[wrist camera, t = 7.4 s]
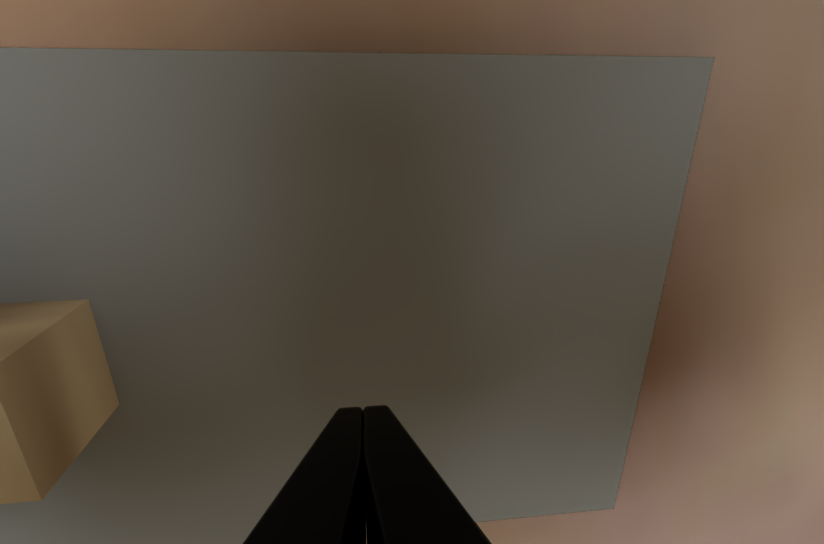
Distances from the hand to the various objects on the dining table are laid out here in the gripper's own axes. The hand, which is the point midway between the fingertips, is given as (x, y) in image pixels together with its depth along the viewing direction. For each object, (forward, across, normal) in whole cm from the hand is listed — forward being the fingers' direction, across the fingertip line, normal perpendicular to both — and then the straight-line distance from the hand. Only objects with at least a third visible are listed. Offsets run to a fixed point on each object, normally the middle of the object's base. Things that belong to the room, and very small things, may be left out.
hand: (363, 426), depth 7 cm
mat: (+3, +3, 0) cm, 4 cm away
